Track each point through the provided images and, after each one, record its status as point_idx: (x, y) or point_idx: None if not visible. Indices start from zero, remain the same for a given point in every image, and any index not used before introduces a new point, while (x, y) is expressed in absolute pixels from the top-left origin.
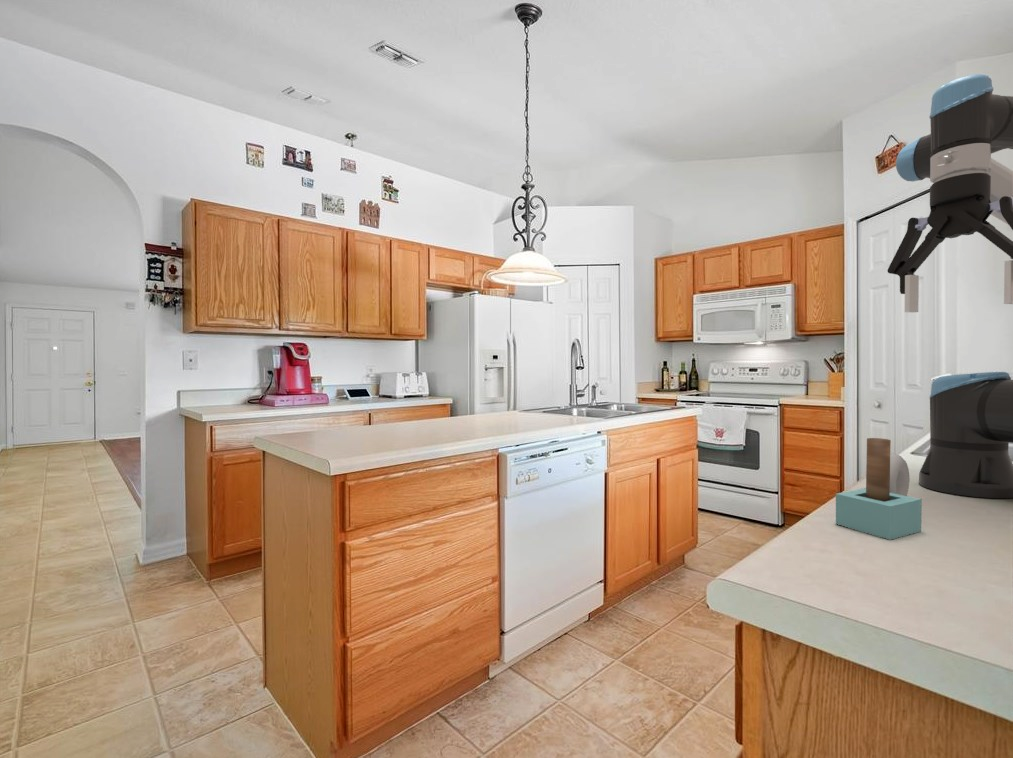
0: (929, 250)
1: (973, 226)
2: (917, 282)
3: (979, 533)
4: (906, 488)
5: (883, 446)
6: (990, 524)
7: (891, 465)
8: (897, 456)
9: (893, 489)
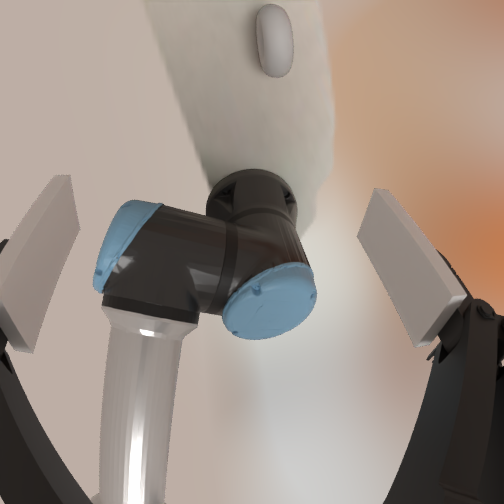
0: (422, 449)
1: None
2: (406, 314)
3: (171, 24)
4: (261, 58)
5: None
6: (178, 68)
7: (268, 17)
8: (272, 40)
9: (258, 12)
